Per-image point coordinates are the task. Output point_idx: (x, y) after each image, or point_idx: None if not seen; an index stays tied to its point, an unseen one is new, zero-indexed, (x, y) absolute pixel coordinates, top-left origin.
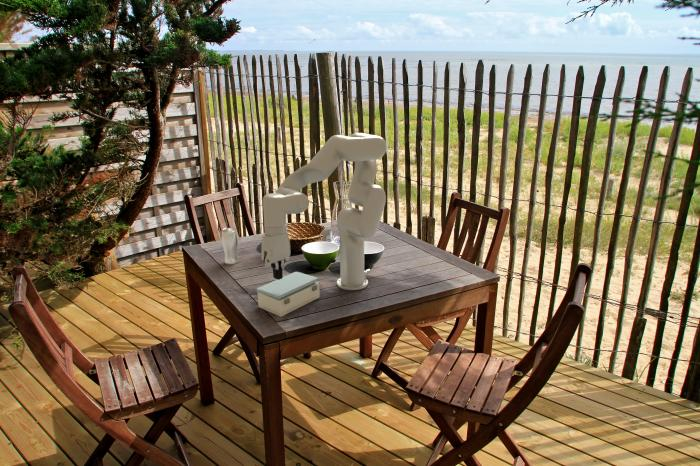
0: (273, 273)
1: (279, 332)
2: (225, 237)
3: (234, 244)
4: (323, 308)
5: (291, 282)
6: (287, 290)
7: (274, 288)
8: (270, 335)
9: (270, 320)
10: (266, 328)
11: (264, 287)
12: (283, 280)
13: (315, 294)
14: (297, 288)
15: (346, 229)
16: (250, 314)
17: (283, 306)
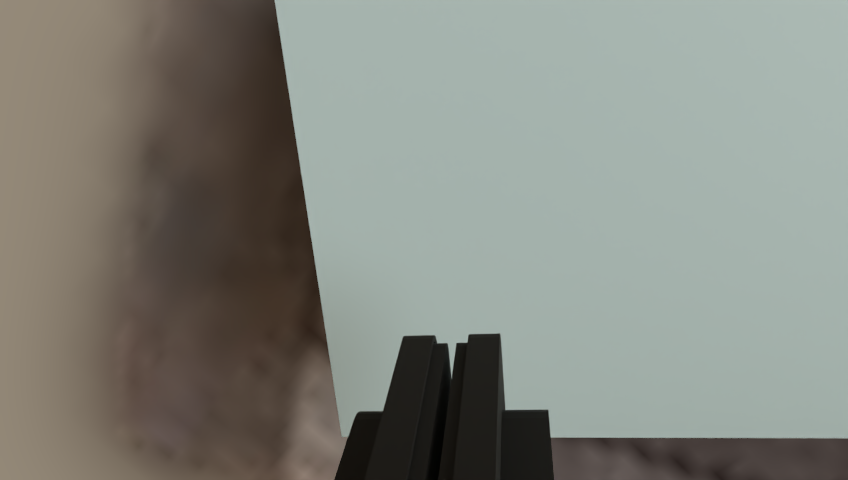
0: (344, 465)
1: (236, 469)
2: None
3: None
4: (786, 465)
5: (820, 227)
6: (538, 402)
7: (466, 193)
8: (160, 453)
9: (282, 287)
10: (185, 361)
11: (382, 22)
12: (823, 31)
13: None
14: (701, 427)
15: None
16: (187, 44)
17: None
